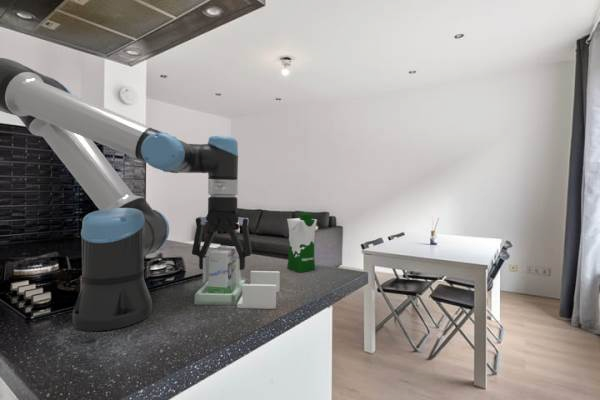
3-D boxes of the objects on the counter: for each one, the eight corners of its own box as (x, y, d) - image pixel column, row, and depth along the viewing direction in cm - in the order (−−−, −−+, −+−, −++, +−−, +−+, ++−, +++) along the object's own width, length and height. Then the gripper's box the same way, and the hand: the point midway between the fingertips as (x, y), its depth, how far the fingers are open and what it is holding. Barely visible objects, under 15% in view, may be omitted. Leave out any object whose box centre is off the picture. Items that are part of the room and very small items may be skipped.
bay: (237, 308, 77) (237, 285, 77) (246, 290, 90) (247, 270, 90) (275, 308, 77) (275, 286, 77) (279, 290, 90) (279, 271, 90)
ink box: (219, 286, 90) (220, 245, 90) (237, 287, 90) (237, 245, 89) (207, 296, 82) (207, 250, 81) (226, 298, 81) (226, 251, 81)
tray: (194, 304, 79) (194, 294, 78) (210, 286, 93) (210, 278, 92) (235, 305, 78) (235, 295, 78) (245, 287, 92) (245, 278, 92)
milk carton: (299, 273, 108) (300, 214, 107) (283, 268, 115) (284, 212, 114) (318, 270, 114) (319, 213, 113) (302, 265, 121) (303, 212, 120)
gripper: (177, 195, 81) (177, 285, 82) (260, 197, 81) (259, 286, 82) (188, 195, 88) (187, 276, 89) (264, 196, 88) (263, 278, 89)
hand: (222, 281), depth 85 cm, fingers open, 8 cm apart
